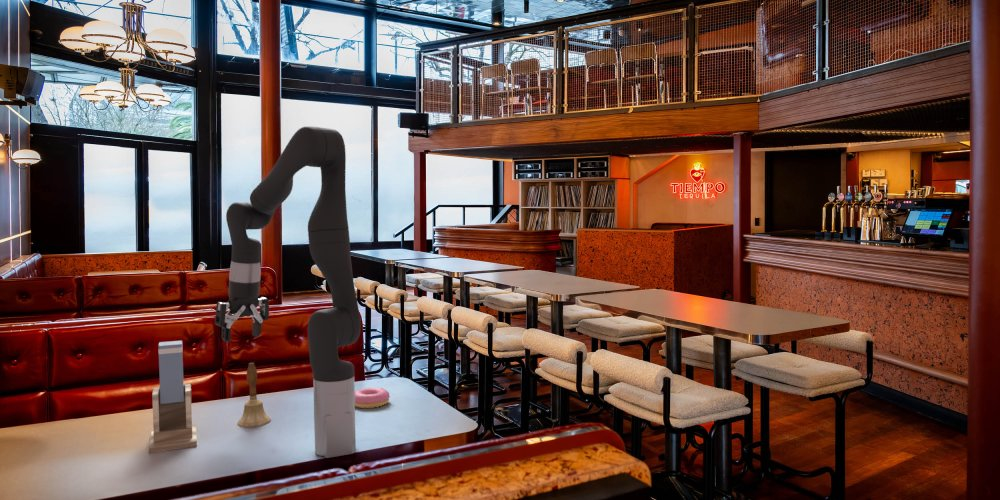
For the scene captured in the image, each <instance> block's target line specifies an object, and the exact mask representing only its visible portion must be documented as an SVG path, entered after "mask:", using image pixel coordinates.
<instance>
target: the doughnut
mask: <svg viewBox="0 0 1000 500" xmlns="http://www.w3.org/2000/svg"><path fill="white" fill-rule="evenodd" d="M390 397H391V396H390V392H389V391H388V390H387V389H384V388H382V387H381V388H380V387H368V388H367V387H365V388H361V389H358V390H356V391H355V408H359V409H375V408H374V407H377V408H380V407H379V406H381V407H383V406H382V405H384V404H385V405H387V404H388V403H389V402H390ZM386 403H387V404H386ZM385 405H384V406H385Z"/></svg>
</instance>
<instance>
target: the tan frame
mask: <svg viewBox="0 0 1000 500" xmlns="http://www.w3.org/2000/svg"><path fill="white" fill-rule="evenodd" d="M183 384H184V401H182V402H173V403H165V404H160V386H156V387H155V386H154V387H153V389H152V390H153V391H152V395H151V397H152V400H151V401H152V421H153V423H152V425H153V429H151V433H150V439H149V446H148V453H149V454H152V453H158V452H164V451H165V452H166V451H173V450H179V449H186V448H193V447H197V446H198V445H197V444H198V440H197V424H196V423H195V424H194V423H193V417H192V414H193V413H192V411H193V410H192V388H191V387H192V385H191V384H192V383H183Z"/></svg>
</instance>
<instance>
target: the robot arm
mask: <svg viewBox="0 0 1000 500" xmlns="http://www.w3.org/2000/svg"><path fill="white" fill-rule="evenodd" d="M346 154H347V153H346V144H345V141H344V137H343V135H342V134H341V133H340V132H339V131H338V130H336V129H333V128H327V127H322V126H313V125H305V126H302V127H300V128H298V130H296V131H295V133H294V134H293V135H292V136H291V138H290V140H289V141H288V143H287V145H286V146H285V148H284V149H283V150H282V152H281V154H280V156H279V157H278V159H277V161H276V162H275V164H274V166H273V167H272V169H271V170H270V172H269V173H268V174H267V175H266V176H265V178H263V180H262V181H261V182H259V184H258V185H256V187H255V188H254V189H252V192H251V193H250V195H249V201H246V202H245V201H236V202H232V203H231V204H230V205H229V206H228V208H227V210H226V214H225V215H226V216H225V218H226V224H227V228H228V232H229V237H230V242H231V261H230V266H229V267H230V268H229V277H228V278H229V280H228V301H227V302H221V301H218V302H217V303H216V306H215V307H216V308H215V315H214V316H215V317H214V325H215V326H218V327H221V339H222V340H223V342H226V343H230V342H231V335H232V328H231V327H232V325H233V324H234V322H236V321H238V319H239V318H241V319H242V318H245V317H248V318H249V317H251V318H252V320H253V321H252V328H251V330H252V332H251V334H252V336H253V337H255V338H258V337H260V335H261V333H262V323H263V322H265V321H268V320H269V317H270V300H269V298H267V297H264V296H261V297H259V296H260V289H261V275H262V274H261V273H262V269H261V267H262V266H261V258H262V257H261V256H262V255H261V254H262V243H261V241H260V240H258V239H256V238H252V237H249V236H248V234H247V230H261V229H264V228H267V226H268V225H269V224H270V223H271V220H272V219H273V216H274V214H275V213H276V210H277V209H278V208H279V206H281V205H282V203H284V202H285V201H286V200H287V199H288V197H289V196H290V195H291V192H292V190H293V187H294V176H295V175H296V173H297V172H299V171H300V170H302V169H303V168H305V167H311V168H320V175H321V177H320V179H321V180H320V181H321V182H320V183H321V187H320V188H321V189H320V193H319V196H318V198H317V201H316V203H314V204H315V205H314V207H313V209H312V211H311V213H310V216H309V219H308V222H307V223H308V224H307V232H308V233H307V234H308V235H307V236H308V247H309V253H310V256H311V259H312V260H313V262H314V264H315V266H316V267H317V269H318V270H319V272H321V274H322V276H323V277H324V279H325V280H326V282H327V284H328V287H329V289H330V294H331V300H332V308H325V309H319V310H316V311H314V312H313V313H312V314H311V315H310V317H309V320H308V323H307V324H308V325H307V340H308V353H309V364H310V367H311V370H312V375H313V376H312V377H313V383H312V384H313V423H314V425H313V427H314V429H313V430H314V454H316V455H317V456H322V457H325V459H328V458H329V459H330V458H335V457H341V456H345V455H346V456H348V455H353V454H354V451H356V445H357V443H356V442H357V441H356V406H355V392H356V391H355V387H356V386H355V366H354V364H353V363H352V362H350V361H346V360H342V359H340V357H339V350H338V349H339V348H341V347H347V346H350V345H353V344H355V343H356V342H357V341H358V340H359V338H360V335H361V329H362V328H361V327H362V326H361V324H362V323H361V322H362V321H361V316H360V315H361V314H360V310H359V304H358V299H357V295H356V288H355V284H354V283H355V282H354V274H353V267H352V257H351V241H350V239H351V238H350V230H349V222H348V221H349V220H348V210H347V195H346V191H347V190H346V170H347V169H346V163H347V162H346V161H347V160H346V159H347V158H346V157H347V156H346ZM258 306H259V310H258V309H257V307H258Z"/></svg>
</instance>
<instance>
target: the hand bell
mask: <svg viewBox="0 0 1000 500" xmlns="http://www.w3.org/2000/svg"><path fill="white" fill-rule="evenodd" d="M246 379H247V383H248V386H249V399H248V401H246V402H245V403H244V407H243V408H244V409H243V414H242V416H241V418H240V419H238V421H237V425H238V427H243V428H253V427H260V426H263V425H266V424H267V425H268V423H270V422H271V417H270V416H269V415H267V413H266V411H265V409H264V404H263V401H262V400H261V399H258V398H257V397H258V396H257V387H256V386H257V381H258V371H257V368H256V365H255V362H249V363H248V367H247V369H246Z"/></svg>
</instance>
